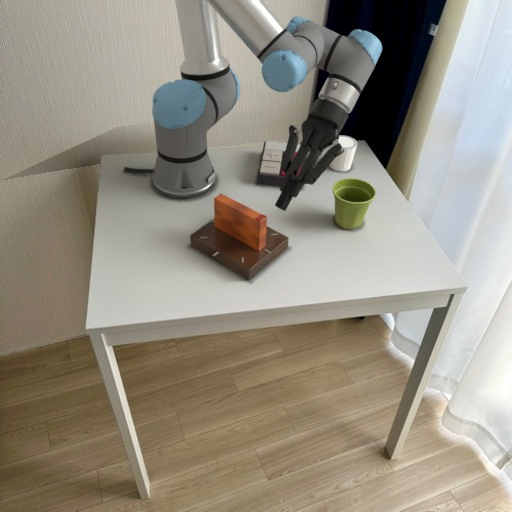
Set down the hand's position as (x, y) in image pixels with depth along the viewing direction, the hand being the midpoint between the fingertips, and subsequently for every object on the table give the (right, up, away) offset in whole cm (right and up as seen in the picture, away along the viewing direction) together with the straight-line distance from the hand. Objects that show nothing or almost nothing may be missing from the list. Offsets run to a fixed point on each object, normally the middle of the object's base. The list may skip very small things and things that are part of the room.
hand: (280, 208), depth 108 cm
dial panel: (-9, -8, +2) cm, 12 cm away
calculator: (+2, +12, +25) cm, 28 cm away
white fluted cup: (+17, +14, +28) cm, 35 cm away
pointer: (-8, -6, 0) cm, 10 cm away
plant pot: (+16, -2, +10) cm, 19 cm away
